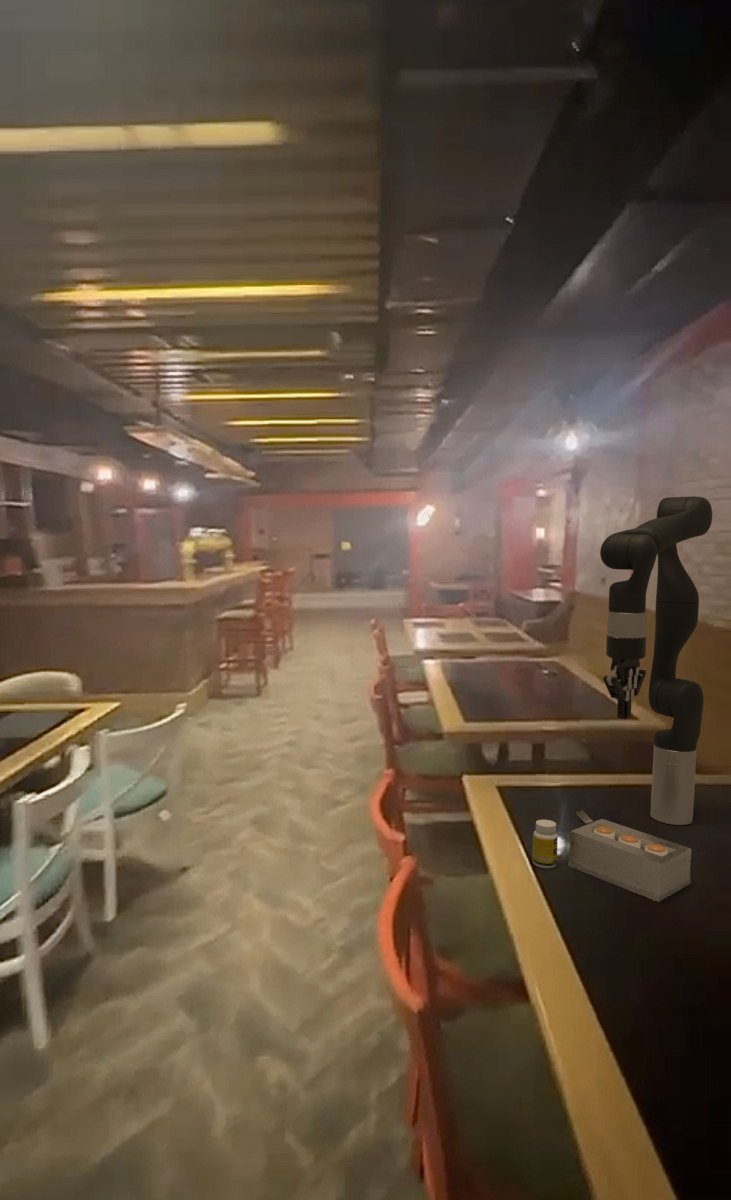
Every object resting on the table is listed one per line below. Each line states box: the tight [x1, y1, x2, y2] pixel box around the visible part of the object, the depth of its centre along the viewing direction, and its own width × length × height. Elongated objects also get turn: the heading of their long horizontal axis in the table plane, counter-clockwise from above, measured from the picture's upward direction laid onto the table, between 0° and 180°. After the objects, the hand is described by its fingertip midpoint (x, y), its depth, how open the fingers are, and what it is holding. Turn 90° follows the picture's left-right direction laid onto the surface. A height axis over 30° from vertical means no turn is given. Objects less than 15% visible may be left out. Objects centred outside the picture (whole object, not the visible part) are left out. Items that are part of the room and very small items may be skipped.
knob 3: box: [645, 843, 668, 857], centre depth 139 cm, size 4×4×6 cm
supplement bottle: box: [531, 819, 559, 869], centre depth 148 cm, size 5×5×8 cm
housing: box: [567, 818, 692, 903], centre depth 143 cm, size 12×19×7 cm, turn 40°
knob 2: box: [619, 834, 641, 849], centre depth 143 cm, size 4×4×6 cm
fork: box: [575, 810, 594, 824], centre depth 167 cm, size 3×16×2 cm, turn 39°
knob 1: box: [594, 826, 615, 840], centre depth 148 cm, size 4×4×6 cm
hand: (624, 718), depth 151 cm, fingers closed
